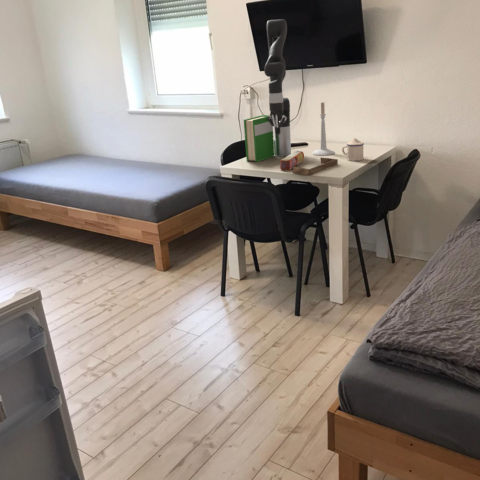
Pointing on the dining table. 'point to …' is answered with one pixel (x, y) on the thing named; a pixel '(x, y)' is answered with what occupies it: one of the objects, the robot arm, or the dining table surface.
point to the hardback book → (258, 138)
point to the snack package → (292, 160)
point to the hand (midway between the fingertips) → (277, 134)
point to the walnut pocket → (317, 167)
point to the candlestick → (323, 137)
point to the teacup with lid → (354, 150)
